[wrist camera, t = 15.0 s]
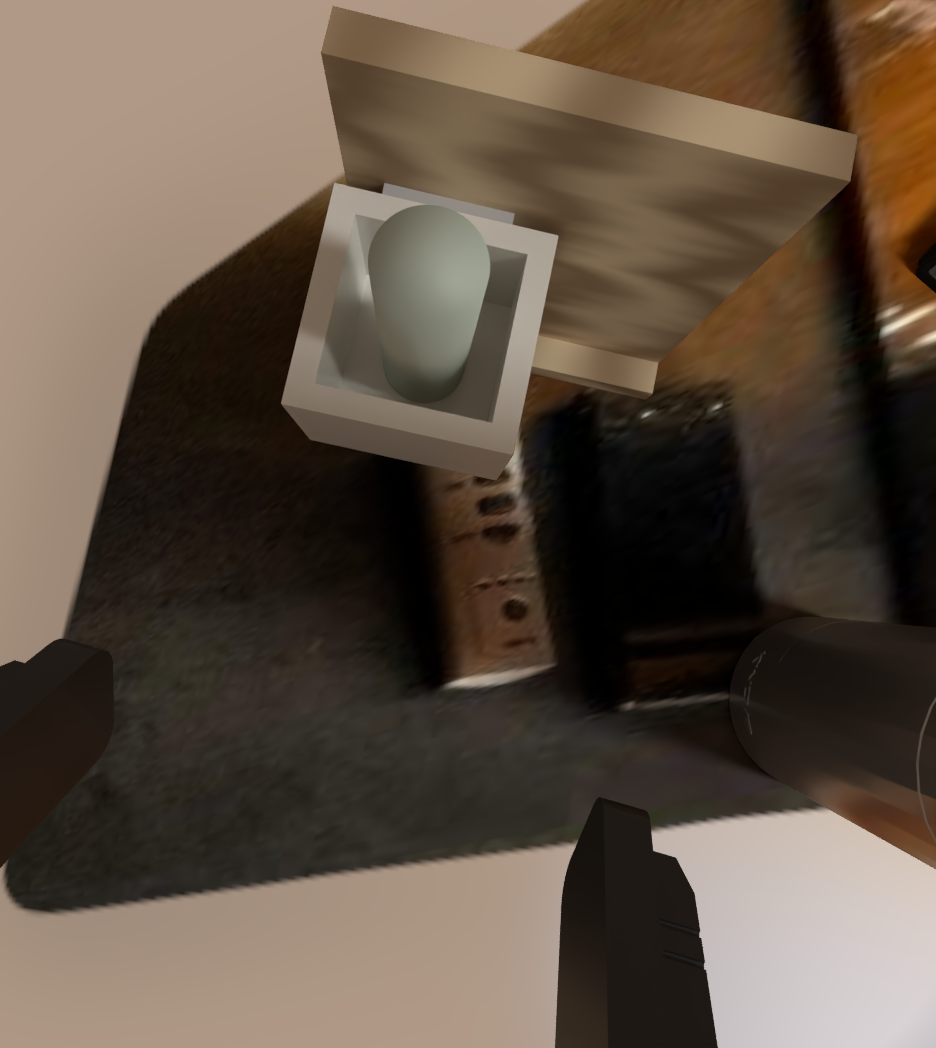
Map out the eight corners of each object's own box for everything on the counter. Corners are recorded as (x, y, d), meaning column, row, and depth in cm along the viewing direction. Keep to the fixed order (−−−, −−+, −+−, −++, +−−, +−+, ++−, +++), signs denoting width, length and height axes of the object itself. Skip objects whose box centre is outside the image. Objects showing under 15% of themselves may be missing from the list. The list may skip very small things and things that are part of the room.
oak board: (659, 323, 38) (864, 97, 20) (645, 399, 38) (841, 236, 20) (382, 259, 38) (342, -33, 20) (364, 336, 37) (307, 108, 19)
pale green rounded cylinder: (471, 331, 30) (500, 219, 20) (456, 410, 30) (478, 335, 20) (391, 315, 30) (380, 192, 20) (375, 393, 30) (356, 310, 20)
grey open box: (535, 288, 32) (562, 218, 26) (496, 480, 31) (513, 455, 25) (355, 247, 31) (338, 165, 25) (310, 439, 31) (280, 403, 24)
